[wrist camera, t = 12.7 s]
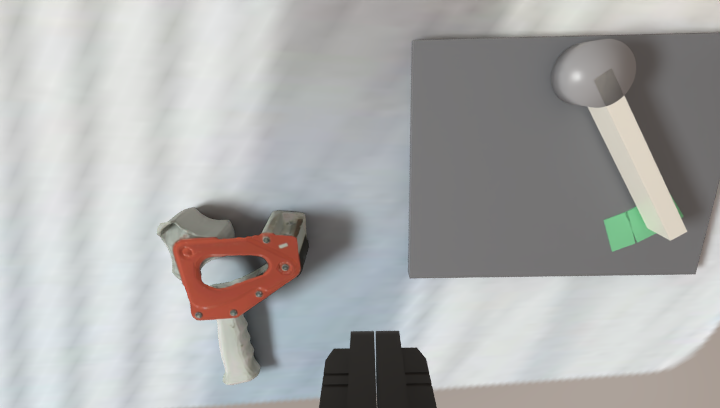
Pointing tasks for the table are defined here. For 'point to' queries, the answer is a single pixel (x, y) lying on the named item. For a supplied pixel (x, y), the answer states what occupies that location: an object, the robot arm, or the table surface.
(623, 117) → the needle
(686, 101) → the dial plate
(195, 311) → the tape dispenser
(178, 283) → the table surface
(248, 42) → the table surface
